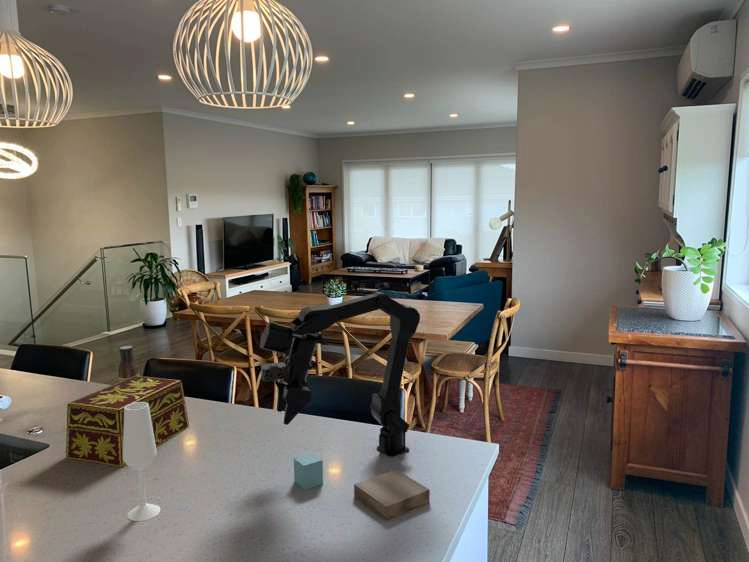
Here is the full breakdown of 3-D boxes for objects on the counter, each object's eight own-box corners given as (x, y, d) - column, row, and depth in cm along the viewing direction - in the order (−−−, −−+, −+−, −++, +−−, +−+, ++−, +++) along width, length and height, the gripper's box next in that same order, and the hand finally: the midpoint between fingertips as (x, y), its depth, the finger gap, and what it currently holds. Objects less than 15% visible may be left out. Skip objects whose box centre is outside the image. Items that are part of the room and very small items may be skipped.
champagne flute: (163, 502, 126) (156, 399, 122) (157, 519, 119) (149, 410, 116) (131, 505, 124) (123, 401, 121) (123, 522, 118) (115, 412, 115)
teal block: (312, 475, 138) (312, 452, 137) (323, 483, 134) (322, 459, 133) (294, 481, 135) (293, 458, 134) (304, 490, 131) (303, 465, 130)
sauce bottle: (138, 400, 192) (134, 343, 189) (145, 404, 187) (141, 346, 185) (118, 404, 188) (113, 346, 185) (124, 409, 183) (120, 350, 180)
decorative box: (138, 420, 174) (135, 373, 172) (189, 427, 169) (187, 378, 167) (65, 458, 148) (60, 404, 146) (122, 468, 143) (118, 411, 141)
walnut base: (395, 481, 134) (395, 469, 134) (429, 502, 125) (429, 489, 124) (354, 496, 127) (354, 484, 127) (386, 520, 118) (386, 506, 117)
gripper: (263, 341, 145) (245, 399, 145) (275, 359, 127) (255, 425, 127) (303, 351, 148) (286, 407, 149) (321, 369, 131) (302, 433, 131)
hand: (282, 417), depth 139 cm, fingers open, 9 cm apart
